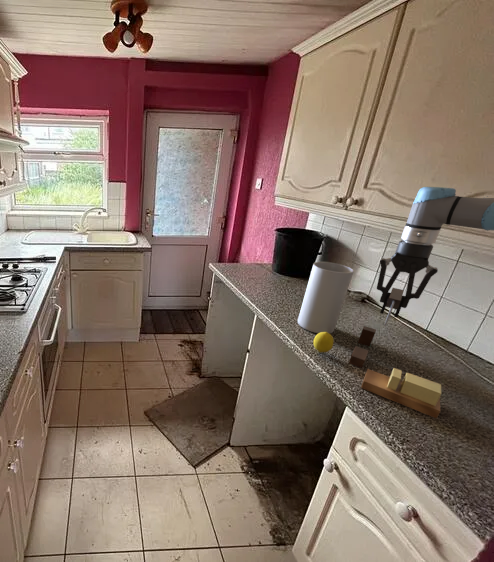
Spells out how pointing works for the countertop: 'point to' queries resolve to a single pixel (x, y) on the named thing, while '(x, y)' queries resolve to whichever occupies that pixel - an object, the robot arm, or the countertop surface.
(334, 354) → the countertop surface
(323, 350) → the lemon
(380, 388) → the board
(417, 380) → the butter
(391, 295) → the knife
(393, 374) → the butter slice
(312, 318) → the cylinder vase
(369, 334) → the knife stand
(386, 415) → the countertop surface
